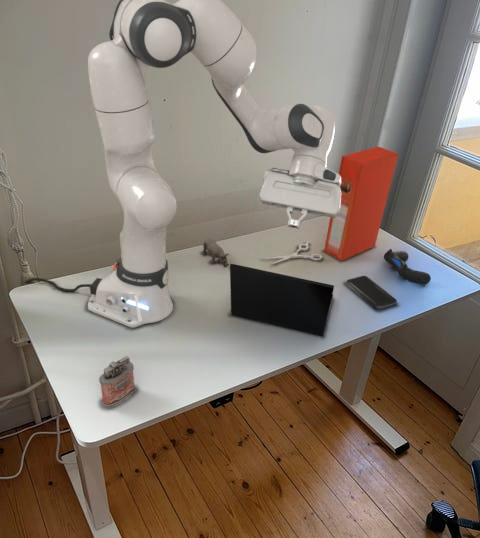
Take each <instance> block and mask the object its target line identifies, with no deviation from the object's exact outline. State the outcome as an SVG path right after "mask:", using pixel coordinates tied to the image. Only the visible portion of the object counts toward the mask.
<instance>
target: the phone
mask: <svg viewBox="0 0 480 538" xmlns="http://www.w3.org/2000/svg"><path fill="white" fill-rule="evenodd" d="M345 283H346V286H347V287H348V288H349V289H350V290H352V291H353V292H354V293H355V294H356V295H357V296H359V297H360V298H361V299H362V300H364V301H365V302H366V303H367V304H368V305H369V306H370V307H372V308H373V309H374V310H376V311H382V310H384V309H388V308H392V307H394V306H395V307H396V305H397V303H398V300H397V299H396V298H395V297H394V296H393V295H392V294H391V293H389V292H388V291H386V290H385V289H384V288H382V287H381V286H380V285H379V284H378V283H376V282H375V281H373V279H371V278H369V276H367V275H361V276H356V277H353V278H349V279H347V280H346V282H345Z"/></svg>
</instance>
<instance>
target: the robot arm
mask: <svg viewBox="0 0 480 538" xmlns="http://www.w3.org/2000/svg"><path fill="white" fill-rule="evenodd" d="M111 21H112V22H111V26H110V29H109V31H108V32H109V33H108V36H109V39H110V40H108V41H104V42H101V43H99V44H97V45H96V46H95V47H93V48H92V49H91V50H90V52H89V54H88V55H87V70H88V71H87V72H88V73H87V74H88V80H89V87H90V88H89V89H90V95H91V99H92V103H93V107H94V111H95V116H96V120H97V124H98V127H99V132H100V135H101V140H102V145H103V149H104V156H105V157H104V158H105V160H104V161H105V168H106V174H107V181H108V185H109V188H110V190H111V192H112V193H113V195H114V196H115V198H116V199H117V200H118V202H119V204H120V206H121V209H122V213H123V224H122V225H123V226H122V229H121V231H120V233H119V246H120V257H119V258H117V259H116V261H115V263H114V264H113V266H112V271H110V272H108V273H107V274H106V275H104V277H103V278H101V277H96V278H95V279H94V281H93V282H92V283H84V284H79V285H77V286H75V288H63V287H60V286H58V285H57V284H56V283H55V282H54V281H52V280H49V279H45V278H40V277H32V278H29V279H27V280H26V281H24V283H25V284H29V283H31V282H34V281H37V282H43V283H47V284H51V285H52V286H53V287H54V288H55V289H57V290H59V291H62V292H67V293H74V292H76V291H78V290H79V289H80V288H89V290H90V295H91V296H90V297H89V298H88V302H87V310H88V311H89V312H92V313H94V314H96V315H99V316H102V317H104V318H107V319H109V320H112V321H114V322H116V323H119V324H121V325H124V326H127V327H128V328H131V329H132V328H133V329H135V328H138V327H140V326H143V325H145V324H152V323H153V324H154V323H157V322H160V321H162V320H164V319H166V318H168V317H169V316H170V315H171V314H172V312H173V310H174V302H173V301H172V298H171V294H170V290H169V283H168V282H169V275H170V274H169V272H170V271H169V262H168V259H167V233H168V228H169V224H170V223H171V222H172V221H173V220H174V218H175V216H176V214H177V209H178V204H177V199H176V197H175V194H174V193H173V190H172V188H171V187H170V185H169V184H168V182H166V181H165V179H164V178H163V177H162V176H161V175H160V174H159V172H158V170H157V168H156V166H155V162H154V142H155V139H156V133H155V128H154V123H153V122H154V121H153V116H152V112H151V105H150V101H149V95H148V90H147V86H146V74H147V69H148V67H153V68H156V69H166V68H169V67H171V66H173V65H175V64H177V63H178V62H179V61H180V60H181V59H182V58H183V57H185V56H186V55H188V54H190V53H191V54H192V55H193V56H194V57H195V58H196V59H197V61H199V62H200V63H201V65H202V66H203V67H204V68H205V69H206V70H207V72H208V73H209V75H210V77H211V85H212V86H213V89H214V90H215V92H216V94H217V95H218V97H219V98H220V100H221V101H222V103H223V104H224V105H225V107H226V108H227V109H228V111H229V112H230V113H231V115H232V116H233V118H234V119H235V120H236V122H237V123H238V124H239V125H240V127H241V129H242V130H243V132H244V134H245V136H246V138H247V140H248V143H249V144H250V146H251V147H252V149H254V151H256V152H257V153H260V154H269V153H273V152H277V151H283V150H290V149H291V150H293V152H294V154H293V155H292V158H291V161H290V166H289V170H288V169H283V168H277V167H271V168H269V169H267V170H265V172H264V174H263V177H262V178H263V179H262V181H263V184H262V186H261V189H260V192H259V199H260V202H261V204H262V205H267V206H271V207H275V208H276V207H277V208H282V209H286V214H287V217H288V222H287V227H289V228H293V229H296V230H299V229H300V227H301V224H302V222H303V221H305V219H307V217H308V214H311V215H317V216H322V217H326V218H330V217H331V218H335V217H337V216H338V215H339V210H340V203H341V189H340V185H341V176H340V175H339V172H336V171H334V170H332V169H330V168H328V156H329V154H330V152H331V150H332V146H333V142H334V137H335V130H336V116H335V114H334V113H333V111H332V110H330V108H327V107H326V106H323V105H319V104H315V105H310V106H308V105H306V104H305V103H294V104H289V105H283V106H279V107H276V108H272V109H271V108H270V109H269V108H262V107H261V106H259V105H258V104H257V103H256V101H255V100H254V98H253V97H252V95H251V94H250V92H249V91H248V88H246V86H245V83H246V82H247V81H248V79H249V77H250V76H251V75H252V72H253V71H254V69H255V66H256V63H257V58H258V49H257V44H256V42H255V39H254V38H253V36H252V34H251V33H250V32H249V30H248V28H246V26H245V25H244V24H243V23H242V21H241V20H240V19H239V18H238V16H237V15H236V14H235V13H234V12H233V11H232V10H231V8H229V7H228V6H227V5H226V3H224V2H223V1H222V0H177V1H176V2H174V3H170V2H169V1H167V0H119V1H118V2H117V5H116V6H115V10H114V13H113V17H112V20H111ZM294 211H297V212H300V214H301V216H300V217H299V218H298V219H294V218H292V215H293V213H294Z"/></svg>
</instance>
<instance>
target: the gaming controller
mask: <svg viewBox="0 0 480 538" xmlns="http://www.w3.org/2000/svg"><path fill="white" fill-rule="evenodd" d="M409 258H410V257H409V253H408V252H407V251H405V250H398V251H393V249H392V248H390V249H388V250H387V251H386V252H385V253H384V254H383V259H384V261H385V262H387V263H388V264H389V265H391V266H392V269H394V270H395V271H396V272H397V274H398V276H399V277H400V278H401V279H403V280H406V281H408V282H409V283H412V284H417V285H423V286H424V285H428V284H430V282H431V280H432V279H431V278H432V276H431V275H430V274H429V273H428V272H426V271H421V270H417V269H413V268H410V267H409V266H408V264H407V263H406V262H407V261H408V260H409Z"/></svg>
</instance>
